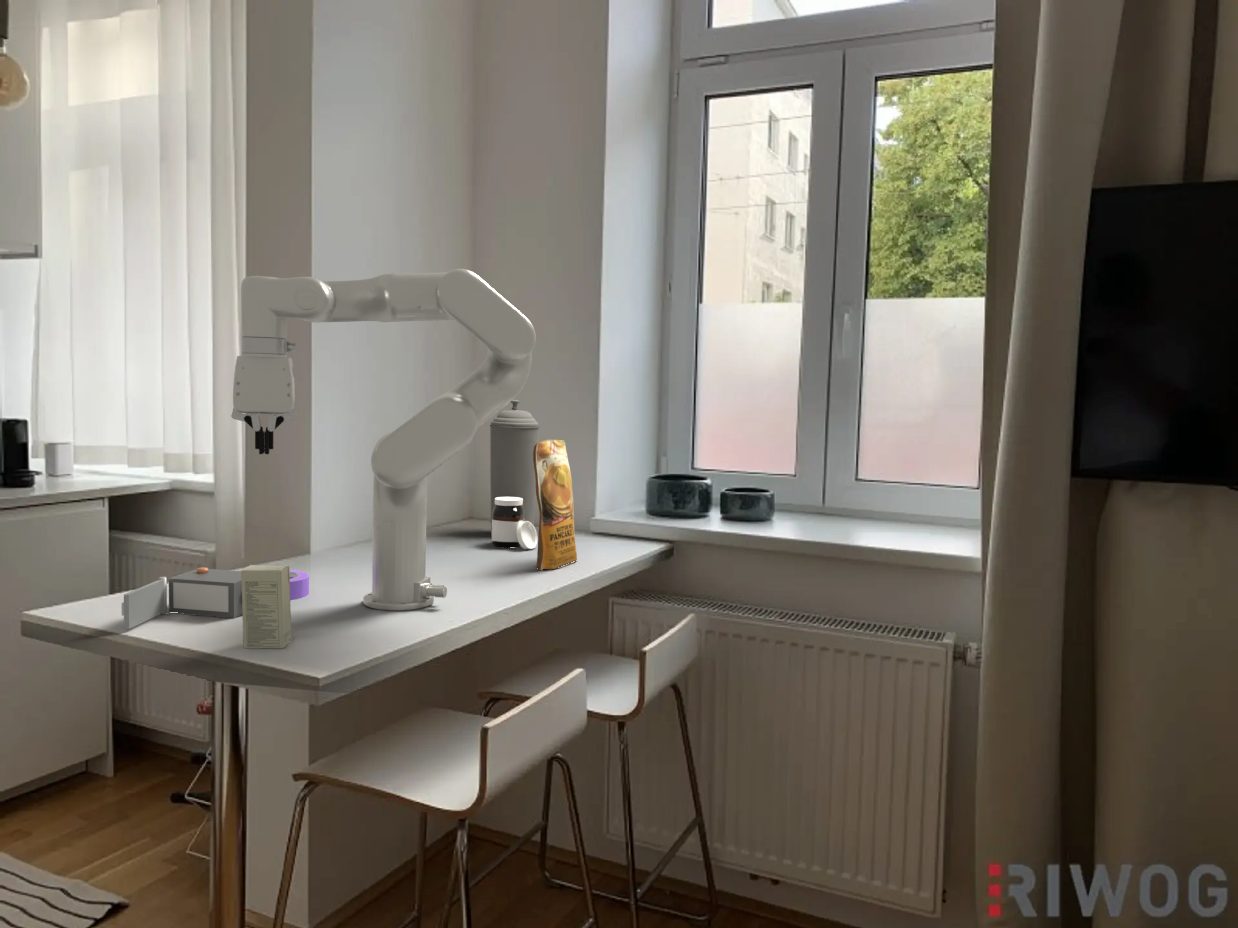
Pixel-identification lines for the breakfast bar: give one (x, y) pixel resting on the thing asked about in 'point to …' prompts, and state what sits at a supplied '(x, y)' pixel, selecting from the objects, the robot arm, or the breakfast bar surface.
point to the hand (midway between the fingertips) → (264, 453)
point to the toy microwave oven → (206, 593)
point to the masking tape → (298, 584)
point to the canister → (513, 458)
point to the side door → (145, 603)
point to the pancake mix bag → (554, 505)
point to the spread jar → (511, 525)
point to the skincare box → (266, 606)
